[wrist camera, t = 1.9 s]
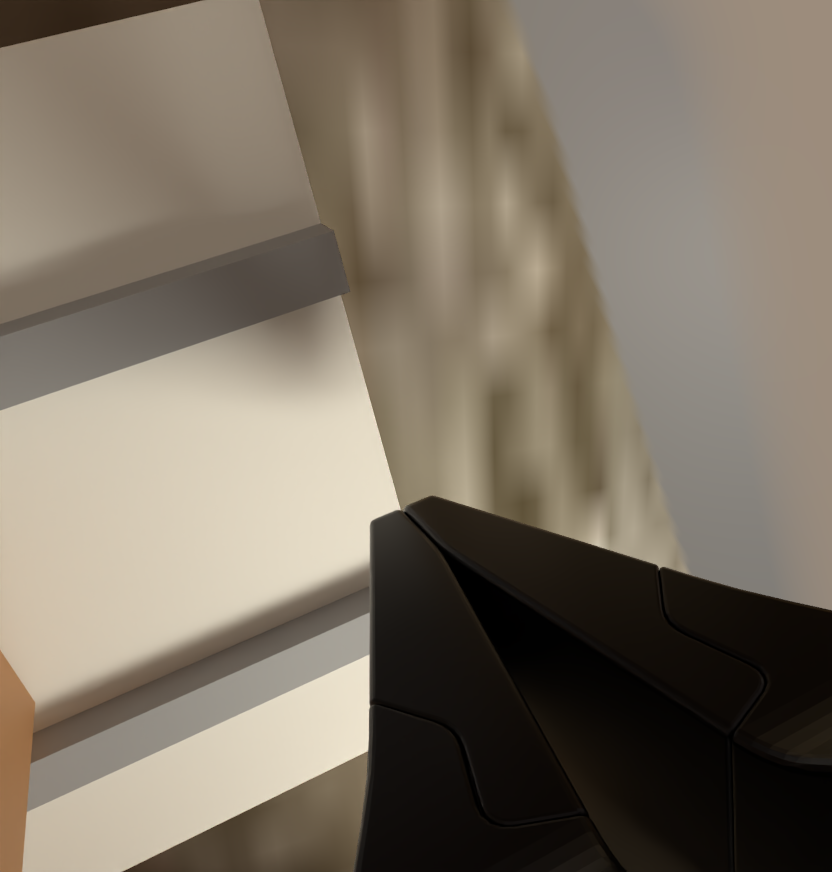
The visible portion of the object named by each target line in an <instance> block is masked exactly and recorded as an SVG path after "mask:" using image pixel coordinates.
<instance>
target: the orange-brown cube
mask: <svg viewBox="0 0 832 872" xmlns="http://www.w3.org/2000/svg"><path fill="white" fill-rule="evenodd" d="M34 713H35V701H34V700H33V698H32V697H31V695H30V694H29V692H28V691H27V689H26V688H25V686H24V685H23V683H22V682H21V680H20V679H19V677H18V676H17V674H16V673H15V671H14V670H13V668H12V667H11V665H10V664H9V662H8V661H7V659H6V658H5V656H4V655H3V653H2V652H1V650H0V872H22V867H23V854H24V841H25V828H26V816H27V803H28V790H29V777H30V764H31V752H32V739H33V726H34Z"/></svg>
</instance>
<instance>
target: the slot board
mask: <svg viewBox="0 0 832 872" xmlns="http://www.w3.org/2000/svg"><path fill="white" fill-rule="evenodd" d="M348 292H350V289H349V285H348V282H347V278H346V274H345V271H344V267H343V263H342V260H341V256H340V252H339V248H338V245H337V241H336V237H335V234H334V231H333V230H332V229H330V228H328V227H326V226H325V225H323V224H321V222H320V218H319V214H318V211H317V207H316V204H315V200H314V196H313V193H312V189H311V186H310V182H309V178H308V175H307V171H306V168H305V164H304V160H303V157H302V153H301V150H300V146H299V142H298V139H297V135H296V132H295V128H294V124H293V121H292V117H291V114H290V110H289V106H288V103H287V99H286V96H285V92H284V88H283V85H282V81H281V78H280V74H279V70H278V67H277V63H276V60H275V56H274V52H273V49H272V45H271V42H270V38H269V34H268V31H267V27H266V24H265V20H264V16H263V13H262V9H261V6H260V2H259V0H203V1H199V2H194V3H190V4H186V5H182V6H177V7H173V8H169V9H164V10H160V11H156V12H152V13H147V14H143V15H139V16H135V17H130V18H126V19H122V20H117V21H113V22H109V23H105V24H100V25H96V26H92V27H88V28H83V29H79V30H75V31H70V32H66V33H62V34H58V35H53V36H49V37H45V38H41V39H36V40H32V41H28V42H24V43H19V44H15V45H11V46H6V47H2V48H0V650H1V652H2V653H3V655H4V656H5V658H6V659H7V661H8V662H9V664H10V665H11V667H12V668H13V670H14V671H15V673H16V674H17V676H18V677H19V679H20V680H21V682H22V683H23V685H24V686H25V688H26V689H27V691H28V692H29V694H30V695H31V697H32V698H33V700H34V701H35V713H34V726H33V739H32V752H31V764H30V777H29V790H28V803H27V816H26V828H25V841H24V854H23V867H22V872H123V871H125V870H127V869H129V868H131V867H133V866H135V865H137V864H139V863H141V862H143V861H145V860H147V859H149V858H151V857H153V856H155V855H157V854H159V853H161V852H163V851H165V850H167V849H169V848H171V847H173V846H175V845H178V844H180V843H182V842H184V841H186V840H188V839H190V838H192V837H194V836H196V835H198V834H200V833H202V832H204V831H206V830H208V829H210V828H212V827H214V826H216V825H218V824H220V823H222V822H224V821H226V820H228V819H230V818H232V817H235V816H237V815H239V814H241V813H243V812H245V811H247V810H249V809H251V808H253V807H255V806H257V805H259V804H261V803H263V802H265V801H267V800H269V799H271V798H273V797H275V796H277V795H279V794H281V793H283V792H285V791H287V790H289V789H292V788H294V787H296V786H298V785H300V784H302V783H304V782H306V781H308V780H310V779H312V778H314V777H316V776H318V775H320V774H322V773H324V772H326V771H328V770H330V769H332V768H334V767H336V766H338V765H340V764H342V763H344V762H346V761H349V760H351V759H353V758H355V757H357V756H359V755H361V754H363V753H365V752H367V751H368V742H369V708H370V704H369V636H370V523H371V521H372V520H374V519H376V518H378V517H381V516H383V515H385V514H388V513H390V512H393V511H395V510H400V506H399V503H398V499H397V495H396V492H395V488H394V485H393V481H392V477H391V474H390V470H389V467H388V463H387V459H386V456H385V452H384V449H383V445H382V441H381V438H380V434H379V431H378V427H377V423H376V420H375V416H374V413H373V409H372V405H371V402H370V398H369V395H368V391H367V387H366V384H365V380H364V377H363V373H362V369H361V366H360V362H359V359H358V355H357V351H356V348H355V344H354V341H353V337H352V333H351V330H350V326H349V323H348V319H347V315H346V312H345V308H344V305H343V301H342V297H341V295H342V294H345V293H348Z"/></svg>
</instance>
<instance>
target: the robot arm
mask: <svg viewBox="0 0 832 872" xmlns="http://www.w3.org/2000/svg"><path fill="white" fill-rule="evenodd" d="M369 704H370V708H369V742H368V763H367V780H366V788H365V796H364V804H363V812H362V820H361V827H360V833H359V839H358V845H357V851H356V857H355V864H354V870H353V872H832V610H828V609H823V608H819V607H814V606H810V605H805V604H800V603H796V602H791V601H787V600H783V599H779V598H775V597H771V596H766V595H762V594H758V593H754V592H750V591H746V590H741V589H737V588H734V587H730V586H727V585H723V584H720V583H716V582H712V581H709V580H705V579H702V578H699V577H695V576H692V575H689V574H685V573H682V572H679V571H676V570H672V569H669V568H666V567H662V568H660V570H659V568H658V566H657V565H656V564H652V563H649V562H646V561H643V560H639V559H636V558H633V557H630V556H627V555H623V554H620V553H617V552H614V551H610V550H607V549H604V548H601V547H598V546H594V545H591V544H588V543H585V542H581V541H578V540H575V539H572V538H569V537H565V536H562V535H559V534H556V533H552V532H549V531H546V530H543V529H540V528H536V527H533V526H530V525H527V524H523V523H520V522H517V521H514V520H510V519H507V518H504V517H501V516H498V515H494V514H491V513H488V512H485V511H481V510H478V509H475V508H472V507H469V506H465V505H462V504H459V503H456V502H452V501H449V500H446V499H443V498H440V497H436V496H428V497H426V498H424V499H421V500H419V501H417V502H414V503H412V504H409V505H407V506H405V507H404V509H403V511H401V510H395V511H393V512H390V513H388V514H385V515H383V516H381V517H378V518H376V519H374V520H372V521H371V523H370V636H369Z"/></svg>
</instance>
